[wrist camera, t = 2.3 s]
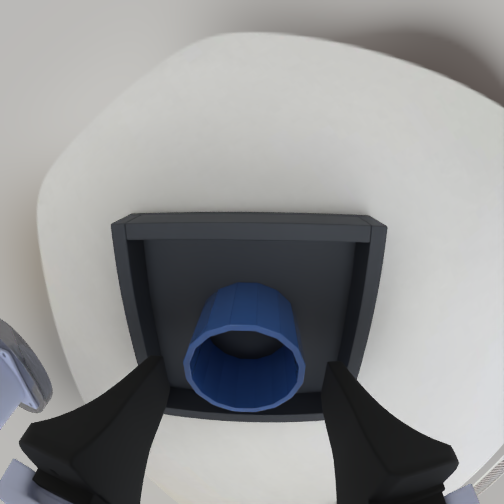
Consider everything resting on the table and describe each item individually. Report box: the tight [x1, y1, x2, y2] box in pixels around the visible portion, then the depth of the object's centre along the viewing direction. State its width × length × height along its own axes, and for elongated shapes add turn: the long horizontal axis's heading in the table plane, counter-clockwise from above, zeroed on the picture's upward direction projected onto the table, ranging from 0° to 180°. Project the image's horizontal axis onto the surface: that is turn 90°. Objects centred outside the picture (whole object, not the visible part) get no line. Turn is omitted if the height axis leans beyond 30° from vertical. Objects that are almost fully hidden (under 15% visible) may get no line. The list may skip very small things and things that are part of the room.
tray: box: [111, 212, 387, 422], centre depth 15 cm, size 13×13×2 cm
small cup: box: [183, 282, 306, 412], centre depth 14 cm, size 5×5×4 cm
